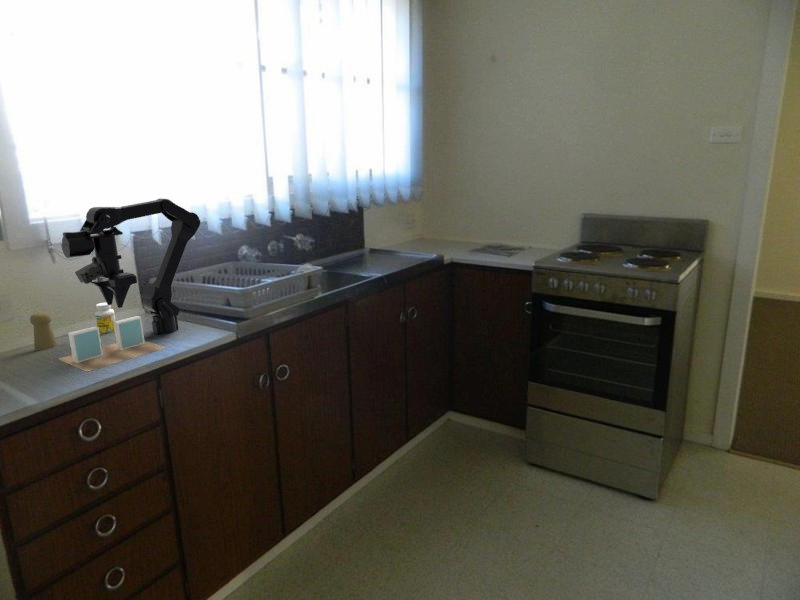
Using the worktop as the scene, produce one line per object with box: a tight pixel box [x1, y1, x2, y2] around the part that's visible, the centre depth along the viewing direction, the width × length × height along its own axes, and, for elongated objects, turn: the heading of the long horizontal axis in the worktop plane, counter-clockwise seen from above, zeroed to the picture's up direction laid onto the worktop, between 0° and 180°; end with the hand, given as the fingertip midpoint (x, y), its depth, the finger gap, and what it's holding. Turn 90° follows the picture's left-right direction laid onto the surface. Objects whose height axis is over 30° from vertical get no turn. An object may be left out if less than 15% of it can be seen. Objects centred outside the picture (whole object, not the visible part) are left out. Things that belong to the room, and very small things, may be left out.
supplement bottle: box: [94, 301, 117, 335], centre depth 183 cm, size 5×5×10 cm
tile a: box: [113, 315, 145, 350], centre depth 166 cm, size 7×2×8 cm, turn 142°
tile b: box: [67, 325, 103, 363], centre depth 157 cm, size 7×2×8 cm, turn 142°
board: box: [57, 339, 167, 373], centre depth 162 cm, size 22×17×1 cm
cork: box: [29, 311, 58, 352], centre depth 169 cm, size 6×6×11 cm
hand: (114, 306), depth 168 cm, fingers open, 6 cm apart
